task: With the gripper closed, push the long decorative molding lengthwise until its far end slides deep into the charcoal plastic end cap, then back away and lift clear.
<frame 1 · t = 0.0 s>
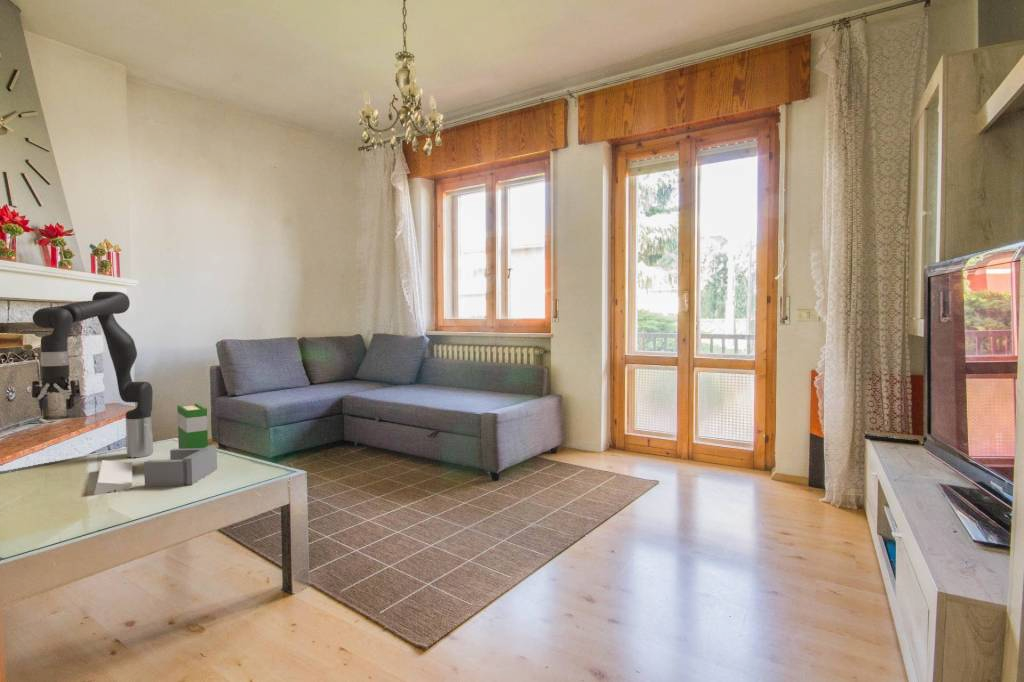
hand: (57, 409, 180), 29 cm above the table, tool pointing down, fingers open, 8 cm apart
hardback book: (193, 462, 215), on the table
decorative molding: (114, 481, 193), on the table
end cap: (180, 477, 195), on the table
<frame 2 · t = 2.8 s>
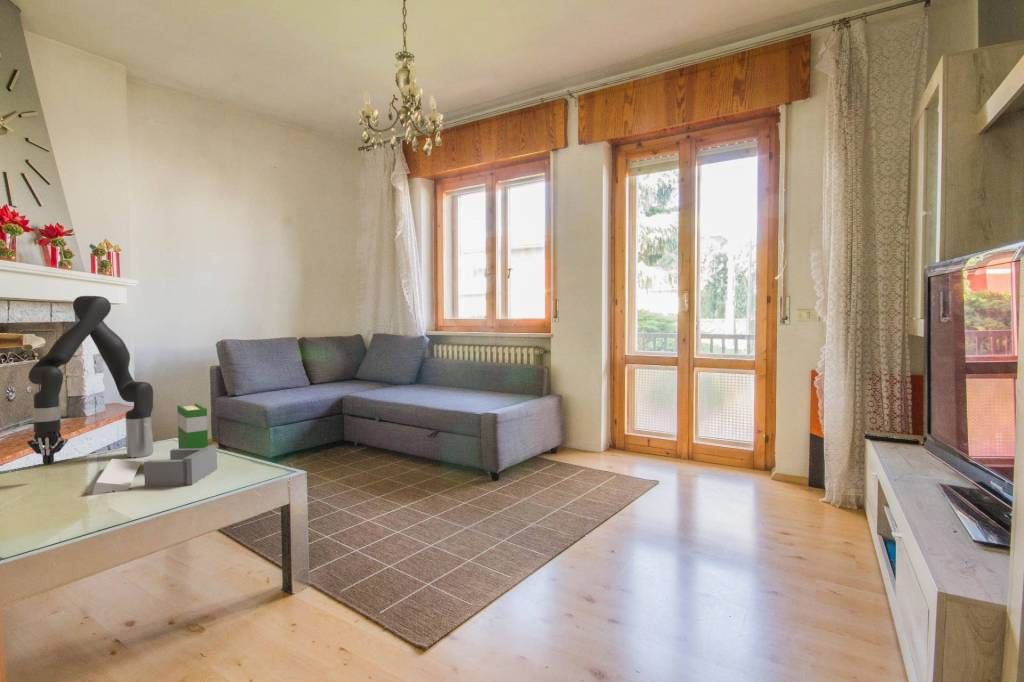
hand: (48, 464, 190), 7 cm above the table, tool pointing down, fingers closed
decorative molding: (119, 481, 194), on the table
everything else where it was.
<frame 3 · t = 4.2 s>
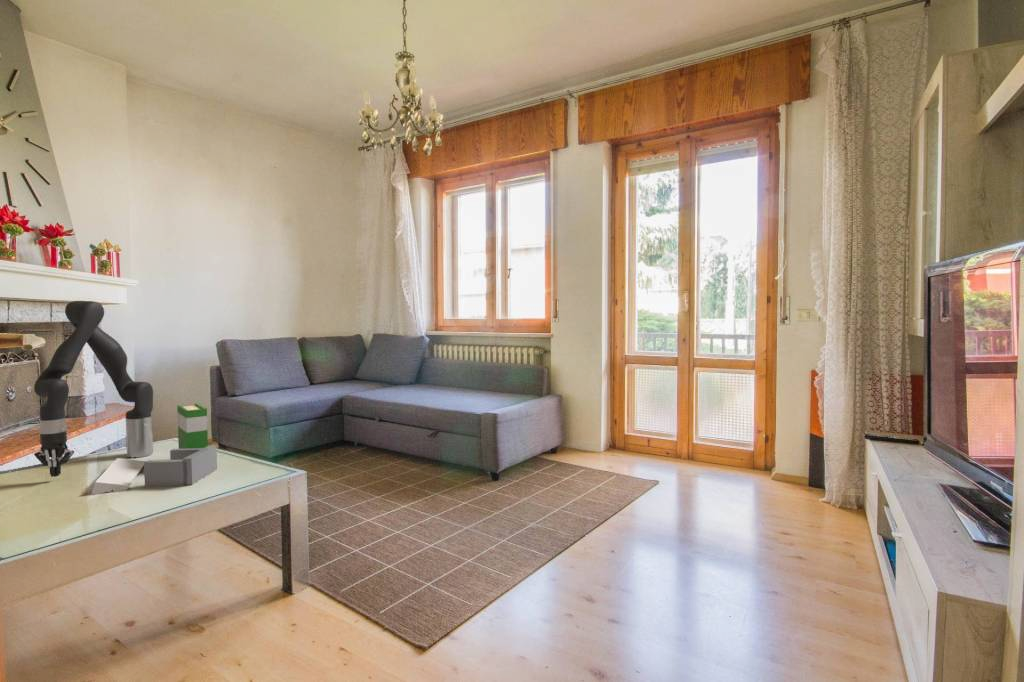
hand: (55, 475, 191), 2 cm above the table, tool pointing down, fingers closed
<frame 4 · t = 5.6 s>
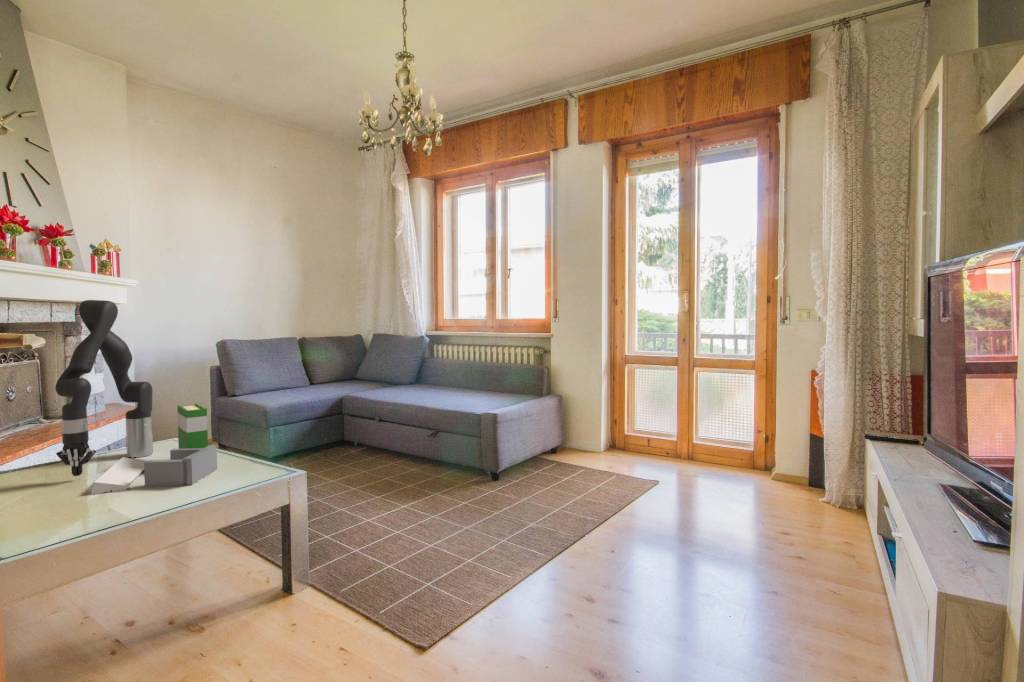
hand: (77, 475, 191), 2 cm above the table, tool pointing down, fingers closed
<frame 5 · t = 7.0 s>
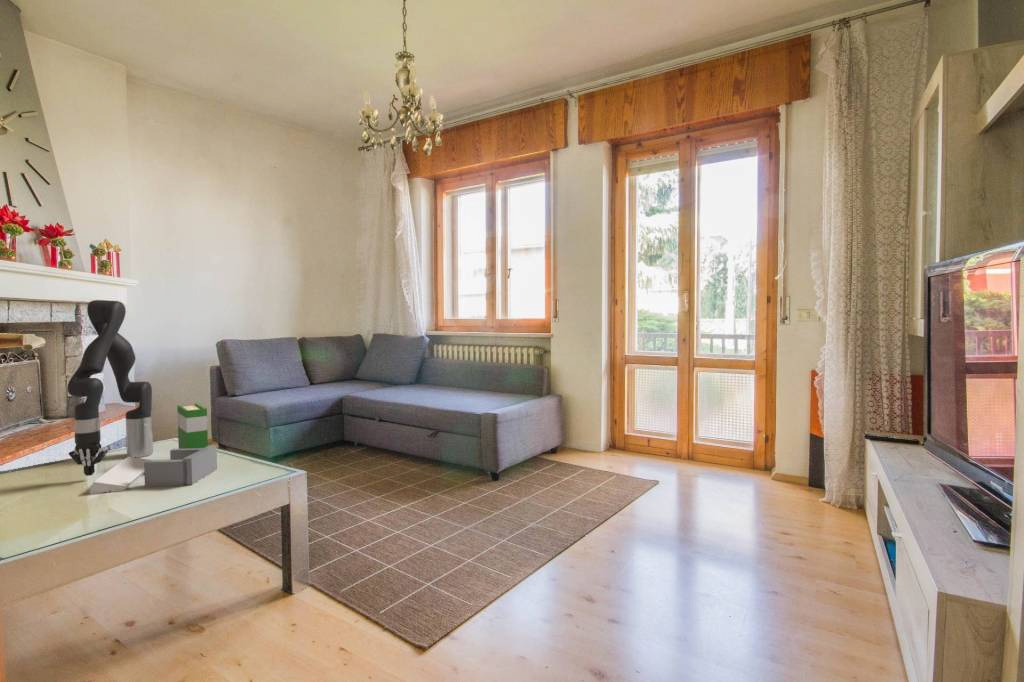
hand: (89, 475, 192), 2 cm above the table, tool pointing down, fingers closed
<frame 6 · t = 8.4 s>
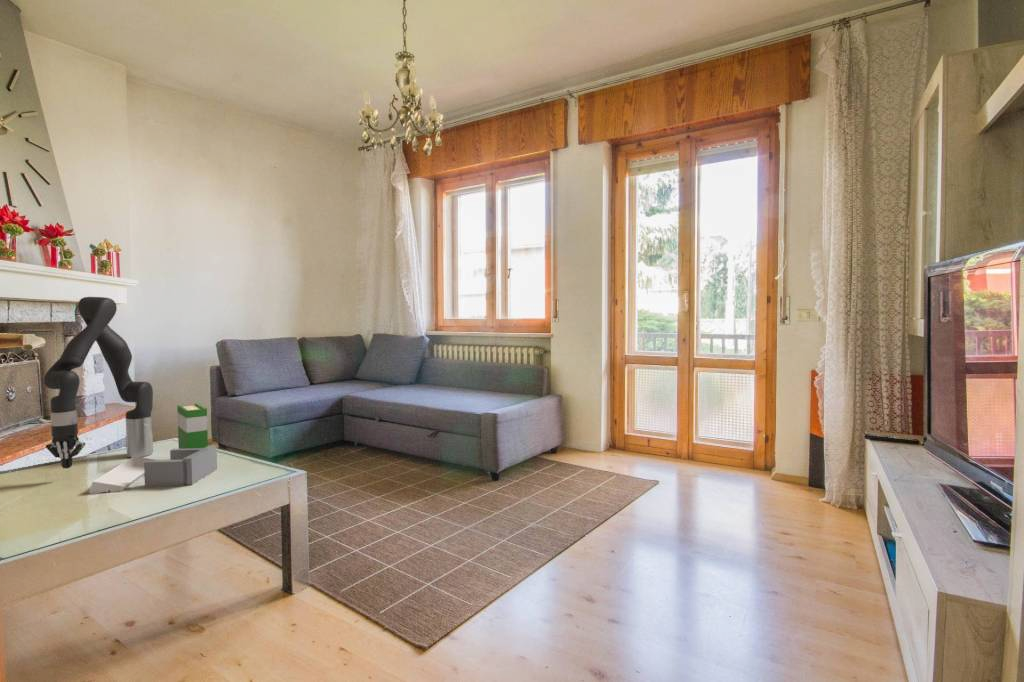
hand: (67, 467, 191), 5 cm above the table, tool pointing down, fingers closed
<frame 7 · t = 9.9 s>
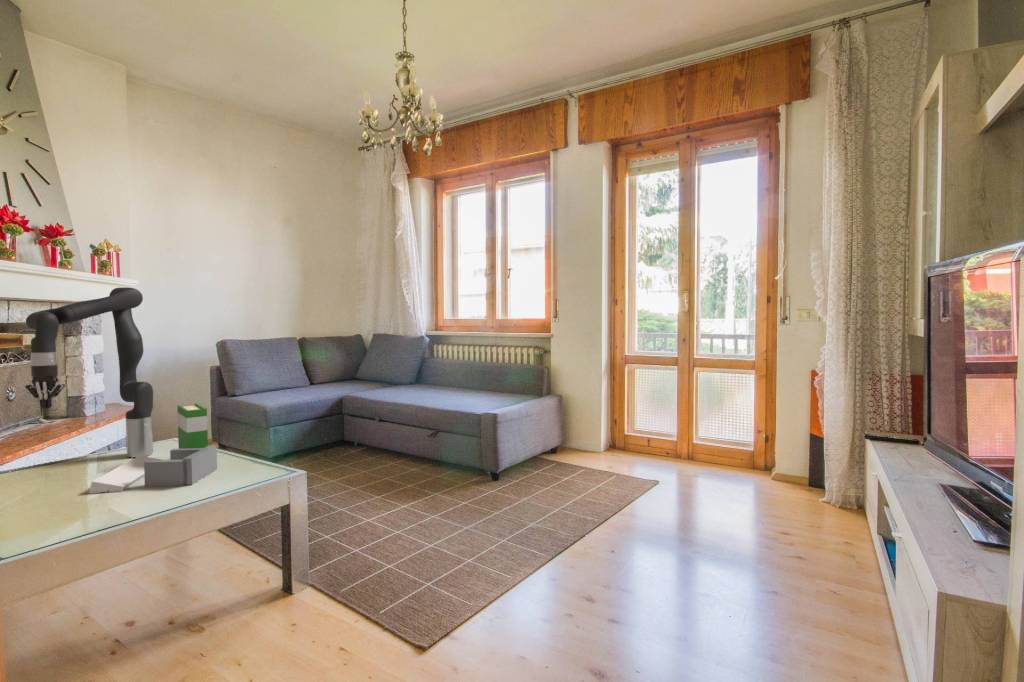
hand: (46, 408, 194), 27 cm above the table, tool pointing down, fingers closed
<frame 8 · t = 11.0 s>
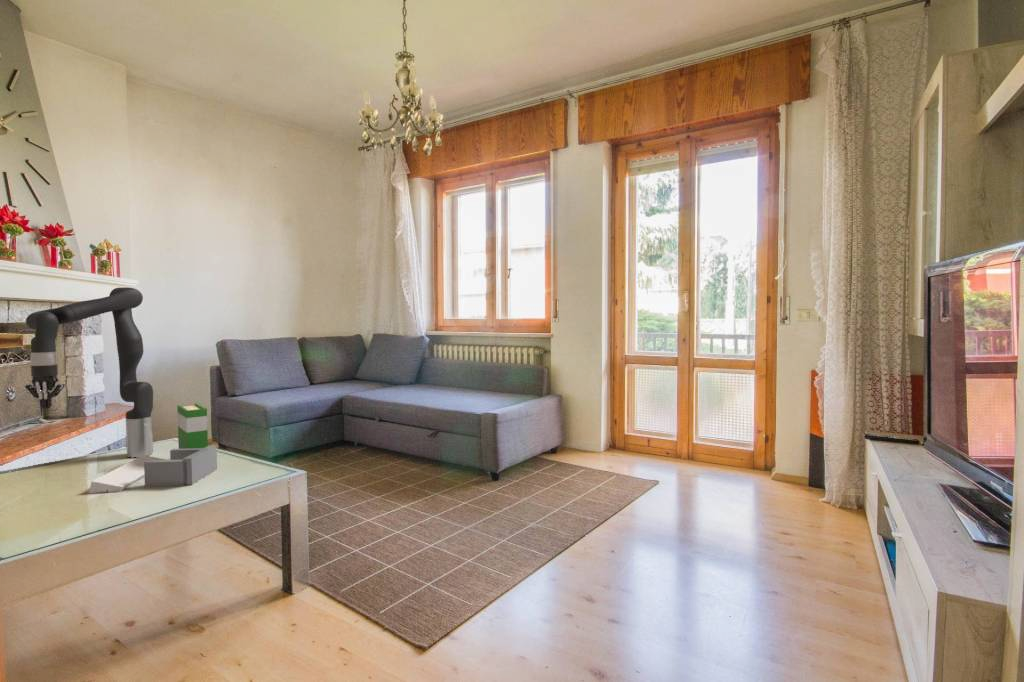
hand: (46, 408, 194), 27 cm above the table, tool pointing down, fingers closed
at the end: decorative molding inside the target area (4.6 cm from its centre), on the table; decorative molding on the table; the gripper is holding nothing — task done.
